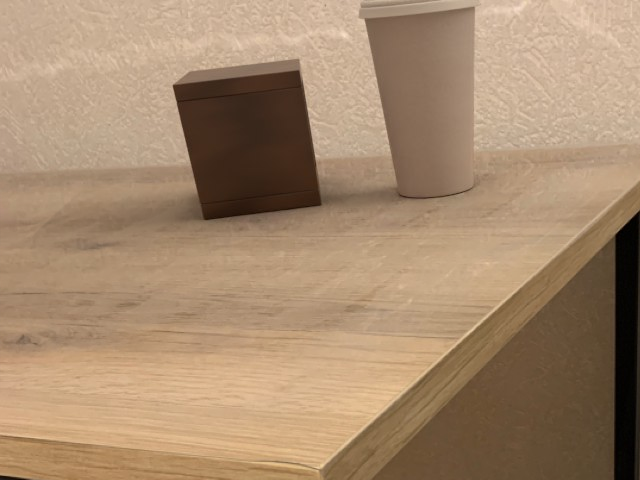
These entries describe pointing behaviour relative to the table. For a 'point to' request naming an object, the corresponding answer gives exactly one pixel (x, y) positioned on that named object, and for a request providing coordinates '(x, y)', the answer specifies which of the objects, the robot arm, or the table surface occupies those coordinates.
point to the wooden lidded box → (249, 138)
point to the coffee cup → (426, 90)
